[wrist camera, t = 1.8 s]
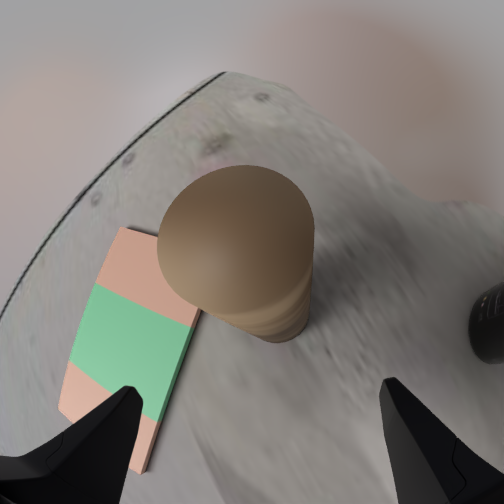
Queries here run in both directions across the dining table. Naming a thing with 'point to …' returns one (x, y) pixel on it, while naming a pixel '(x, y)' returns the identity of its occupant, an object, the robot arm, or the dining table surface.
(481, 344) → the supplement bottle
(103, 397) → the board
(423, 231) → the dining table surface
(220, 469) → the dining table surface
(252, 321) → the walnut peg
